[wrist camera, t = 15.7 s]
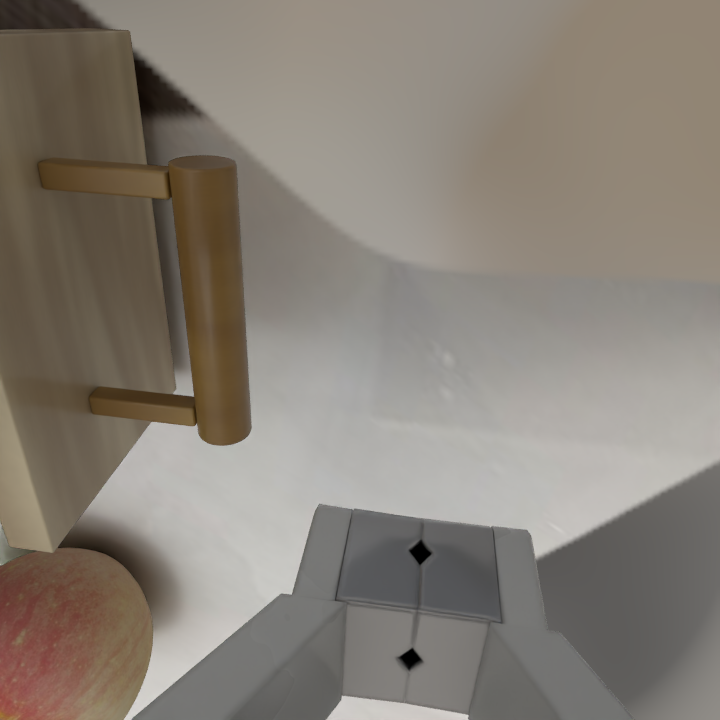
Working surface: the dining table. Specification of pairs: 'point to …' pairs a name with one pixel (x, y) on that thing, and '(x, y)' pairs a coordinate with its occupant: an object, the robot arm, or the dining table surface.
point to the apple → (71, 637)
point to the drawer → (101, 281)
